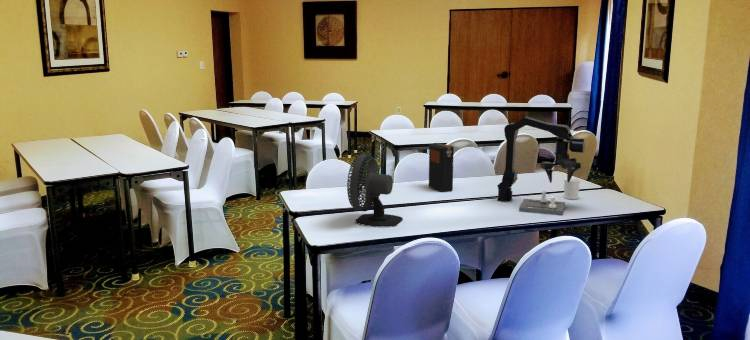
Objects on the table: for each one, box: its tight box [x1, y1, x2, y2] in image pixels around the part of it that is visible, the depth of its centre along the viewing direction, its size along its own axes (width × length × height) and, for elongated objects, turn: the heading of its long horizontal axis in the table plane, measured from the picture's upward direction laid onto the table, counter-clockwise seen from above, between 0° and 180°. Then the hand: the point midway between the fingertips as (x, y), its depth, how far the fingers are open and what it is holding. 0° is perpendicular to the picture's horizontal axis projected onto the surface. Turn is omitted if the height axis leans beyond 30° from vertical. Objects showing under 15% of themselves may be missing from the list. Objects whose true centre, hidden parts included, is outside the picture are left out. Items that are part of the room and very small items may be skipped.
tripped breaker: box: [539, 190, 548, 202], centre depth 297 cm, size 3×4×5 cm
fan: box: [346, 154, 404, 227], centre depth 271 cm, size 26×26×30 cm
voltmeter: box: [428, 142, 455, 193], centre depth 332 cm, size 16×9×25 cm, turn 25°
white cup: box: [563, 177, 581, 200], centre depth 313 cm, size 8×8×10 cm
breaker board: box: [518, 198, 566, 216], centre depth 293 cm, size 20×18×2 cm
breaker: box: [549, 196, 556, 208], centre depth 286 cm, size 3×4×5 cm
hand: (559, 182), depth 296 cm, fingers open, 9 cm apart
